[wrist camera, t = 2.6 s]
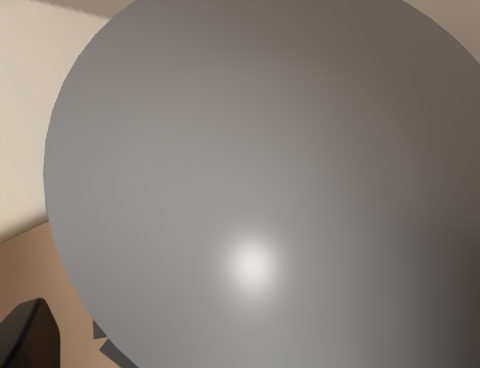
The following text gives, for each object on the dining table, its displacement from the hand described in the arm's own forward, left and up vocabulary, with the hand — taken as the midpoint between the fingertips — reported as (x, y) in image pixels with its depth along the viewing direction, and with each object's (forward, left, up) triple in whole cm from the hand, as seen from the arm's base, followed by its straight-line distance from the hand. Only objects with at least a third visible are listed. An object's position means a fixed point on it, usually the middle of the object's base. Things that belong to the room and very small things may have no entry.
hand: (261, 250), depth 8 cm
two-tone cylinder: (0, 0, -7) cm, 7 cm away
